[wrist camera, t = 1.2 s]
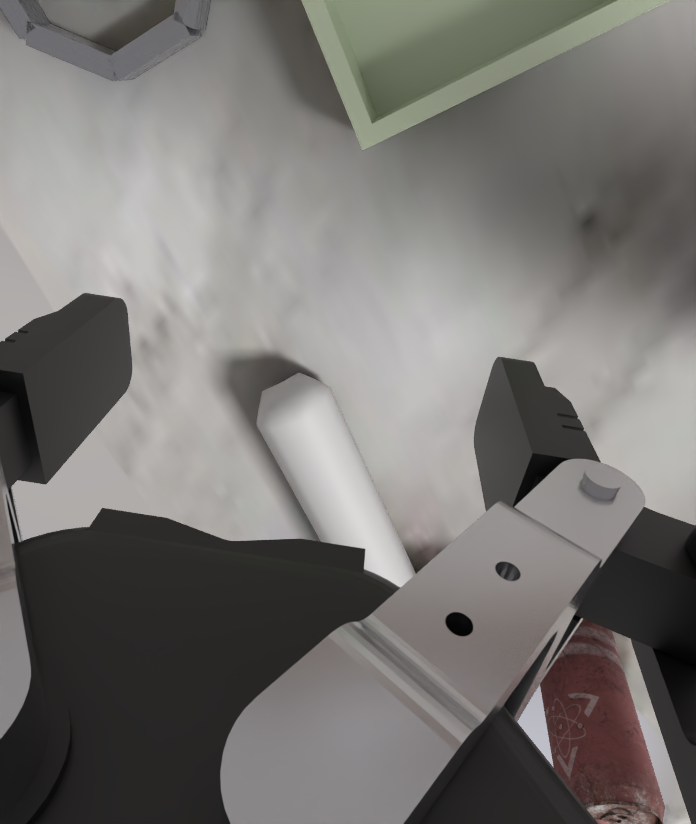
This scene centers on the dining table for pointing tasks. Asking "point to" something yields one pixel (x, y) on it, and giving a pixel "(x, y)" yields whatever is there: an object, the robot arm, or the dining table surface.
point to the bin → (445, 50)
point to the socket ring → (101, 60)
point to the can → (599, 731)
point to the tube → (330, 473)
